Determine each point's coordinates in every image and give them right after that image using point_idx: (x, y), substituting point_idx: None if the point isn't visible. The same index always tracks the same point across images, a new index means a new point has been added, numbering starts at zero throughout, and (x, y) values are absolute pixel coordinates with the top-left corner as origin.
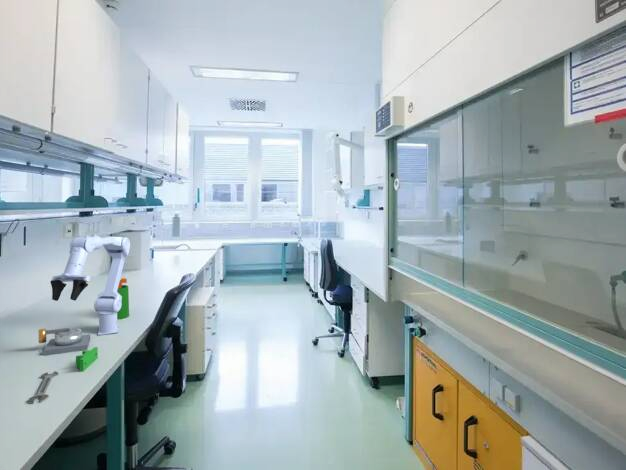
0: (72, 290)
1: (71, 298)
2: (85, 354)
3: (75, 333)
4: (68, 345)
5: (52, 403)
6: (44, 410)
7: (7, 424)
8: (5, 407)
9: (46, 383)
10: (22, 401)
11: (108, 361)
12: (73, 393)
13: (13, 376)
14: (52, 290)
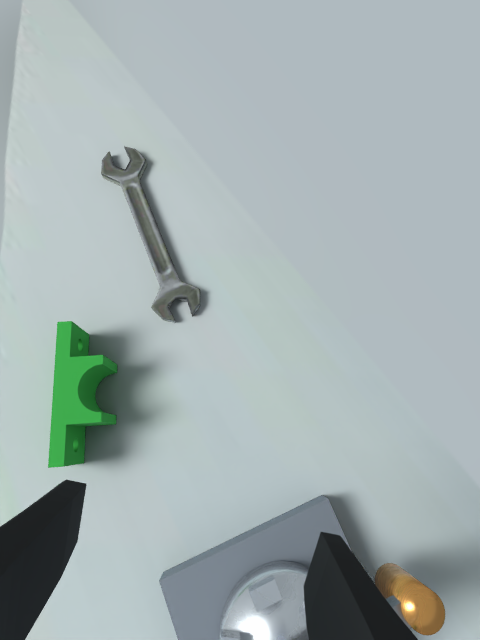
0: (17, 548)
1: (69, 485)
2: (70, 375)
3: (233, 635)
4: (250, 569)
5: (76, 150)
6: (79, 123)
7: (131, 80)
8: (186, 140)
9: (146, 235)
10: (162, 163)
11: (11, 425)
12: (43, 195)
13: (299, 304)
14: (406, 629)
